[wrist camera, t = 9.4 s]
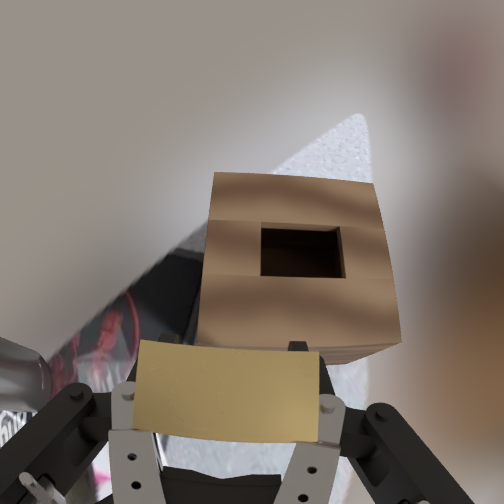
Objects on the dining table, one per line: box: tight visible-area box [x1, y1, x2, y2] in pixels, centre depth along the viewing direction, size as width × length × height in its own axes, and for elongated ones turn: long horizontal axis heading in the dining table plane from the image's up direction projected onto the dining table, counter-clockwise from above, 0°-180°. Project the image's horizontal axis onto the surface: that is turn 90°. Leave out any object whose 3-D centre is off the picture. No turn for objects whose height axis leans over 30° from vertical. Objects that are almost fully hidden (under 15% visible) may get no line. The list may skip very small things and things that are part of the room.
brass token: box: [132, 340, 319, 443], centre depth 12 cm, size 3×5×10 cm, turn 87°
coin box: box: [197, 172, 402, 365], centre depth 31 cm, size 16×16×14 cm
